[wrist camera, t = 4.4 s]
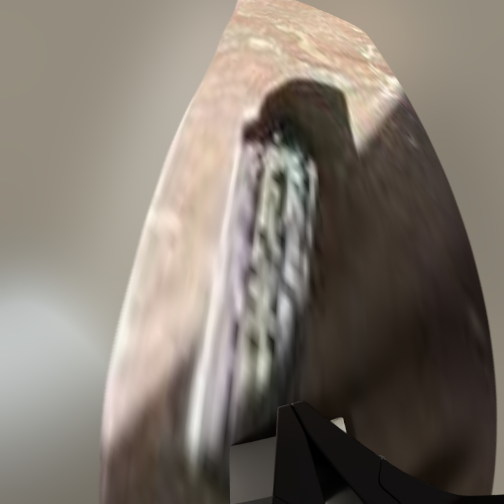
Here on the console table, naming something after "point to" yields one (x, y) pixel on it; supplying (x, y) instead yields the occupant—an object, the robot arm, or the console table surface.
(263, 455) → the white bracket
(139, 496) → the console table surface
